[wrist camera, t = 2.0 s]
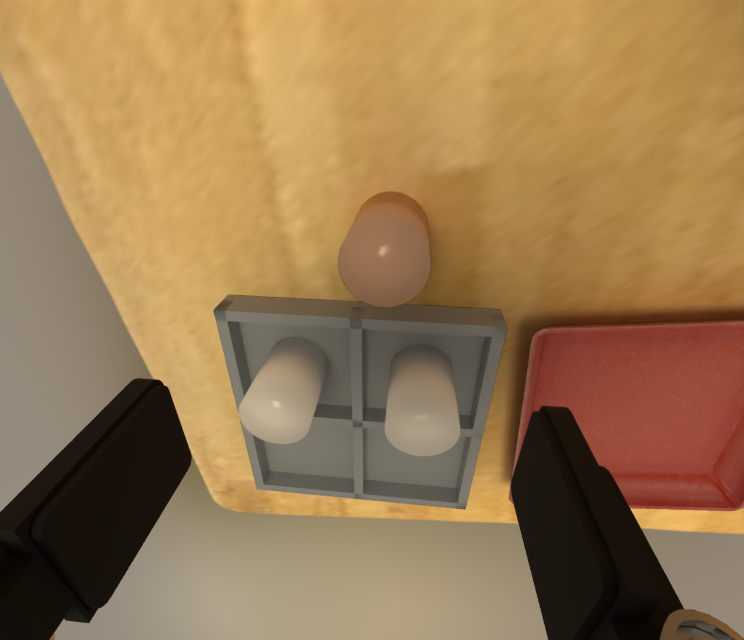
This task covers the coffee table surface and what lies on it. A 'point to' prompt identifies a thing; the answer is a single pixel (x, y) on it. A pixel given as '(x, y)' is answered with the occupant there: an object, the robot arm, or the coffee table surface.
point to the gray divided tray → (364, 394)
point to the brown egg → (386, 251)
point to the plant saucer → (650, 406)
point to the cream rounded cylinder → (422, 402)
